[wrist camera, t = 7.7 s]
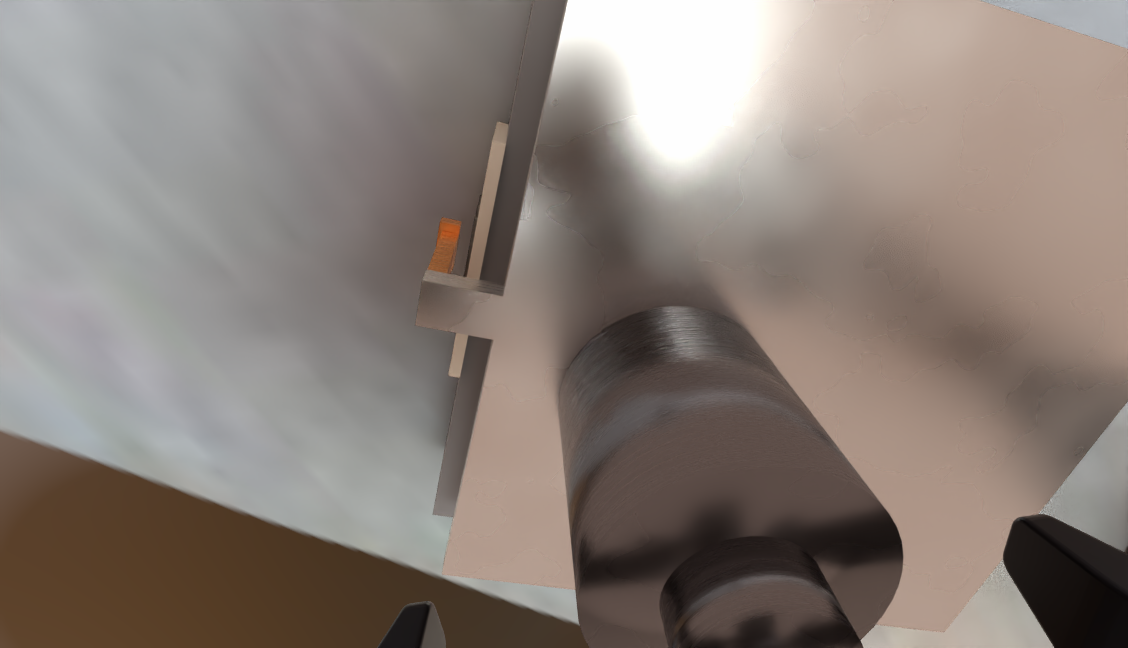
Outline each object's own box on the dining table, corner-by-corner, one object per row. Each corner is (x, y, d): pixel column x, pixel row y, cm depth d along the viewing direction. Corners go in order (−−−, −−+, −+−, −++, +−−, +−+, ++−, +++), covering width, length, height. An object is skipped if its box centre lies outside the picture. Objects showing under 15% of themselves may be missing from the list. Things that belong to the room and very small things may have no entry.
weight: (806, 330, 12) (1035, 567, 7) (725, 499, 14) (853, 789, 9) (590, 284, 12) (653, 512, 6) (536, 470, 14) (545, 769, 8)
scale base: (1123, 78, 16) (1255, 90, 13) (857, 511, 23) (905, 581, 20) (537, -106, 13) (540, -144, 10) (433, 448, 20) (419, 517, 17)
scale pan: (1152, 99, 15) (1350, 121, 11) (874, 532, 21) (943, 632, 17) (493, -107, 12) (481, -163, 8) (402, 464, 18) (374, 566, 15)
